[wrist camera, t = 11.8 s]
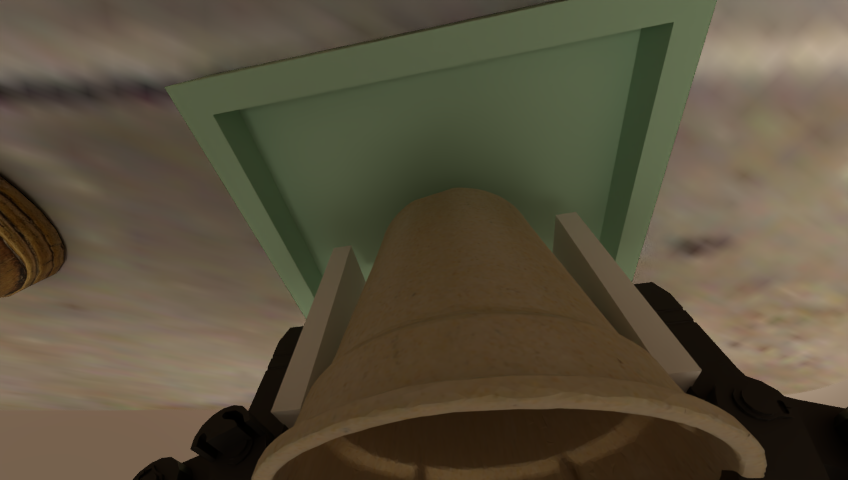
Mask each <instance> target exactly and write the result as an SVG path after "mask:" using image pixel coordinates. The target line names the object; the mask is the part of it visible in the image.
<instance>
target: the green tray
mask: <svg viewBox="0 0 848 480" xmlns="http://www.w3.org/2000/svg"><path fill="white" fill-rule="evenodd" d="M716 2H717V0H556V1H551V2H547V3H542V4H537V5H533V6H528V7H523V8H519V9H514V10H509V11H505V12H500V13H496V14H491V15H486V16H482V17H477V18H472V19H468V20H463V21H458V22H454V23H449V24H445V25H440V26H435V27H431V28H426V29H421V30H417V31H412V32H407V33H403V34H398V35H394V36H389V37H384V38H380V39H375V40H370V41H366V42H361V43H356V44H352V45H347V46H343V47H338V48H333V49H329V50H324V51H319V52H315V53H310V54H305V55H301V56H296V57H292V58H287V59H282V60H278V61H273V62H268V63H264V64H259V65H254V66H250V67H245V68H241V69H236V70H231V71H227V72H222V73H217V74H213V75H208V76H205V77H201V78H197V79H193V80H190V81H186V82H182V83H178V84H174V85H171V86H167V87H164V88H165V89H166V91H167V93H168V94H169V96H170V97H171V99H172V101H173V102H174V104H175V106H176V107H177V109H178V111H179V112H180V114H181V115H182V117H183V119H184V120H185V122H186V124H187V125H188V127H189V128H190V130H191V132H192V133H193V135H194V137H195V138H196V140H197V142H198V143H199V145H200V146H201V148H202V150H203V151H204V153H205V155H206V156H207V158H208V160H209V161H210V163H211V164H212V166H213V168H214V169H215V171H216V173H217V174H218V176H219V177H220V179H221V181H222V182H223V184H224V186H225V187H226V189H227V191H228V192H229V194H230V195H231V197H232V199H233V200H234V202H235V204H236V205H237V207H238V209H239V210H240V212H241V213H242V215H243V217H244V218H245V220H246V222H247V223H248V225H249V226H250V228H251V230H252V231H253V233H254V235H255V236H256V238H257V240H258V241H259V243H260V244H261V246H262V248H263V249H264V251H265V253H266V254H267V256H268V258H269V259H270V261H271V262H272V264H273V266H274V267H275V269H276V271H277V272H278V274H279V276H280V277H281V279H282V280H283V282H284V284H285V285H286V287H287V289H288V290H289V292H290V293H291V295H292V297H293V298H294V300H295V302H296V303H297V305H298V307H299V308H300V310H301V311H302V313H303V315H304V316H305V318H306V319H307V316H308V314H309V311H310V308H311V306H312V303H313V301H314V298H315V295H316V293H317V290H318V288H319V285H320V282H321V280H322V277H323V275H324V272H325V269H326V267H327V264H328V262H329V259H330V256H331V254H332V251H333V249H334V248H337V247H344V246H350V245H351V246H352V249H353V251H354V254H355V256H356V259H357V261H358V264H359V266H360V269H361V271H362V274H363V276H364V279H365V281H367V279H368V276H369V274H370V272H371V269H372V267H373V264H374V262H375V259H376V256H377V254H378V251H379V249H380V246H381V243H382V241H383V238H384V235H385V232H386V230H387V228H388V226H389V224H390V223H391V221H392V220H393V219H394V218H395V216H396V215H397V214H398V213H399V212H400V211H401V210H402V209H403V208H404V207H405V206H407V205H408V204H409V203H411V202H412V201H414V200H417V199H421V198H424V197H427V196H430V195H433V194H436V193H440V192H443V191H446V190H448V189H451V188H473V189H479V190H483V191H487V192H490V193H493V194H495V195H498V196H500V197H502V198H503V199H505V200H507V201H508V202H510V203H511V204H512V205H513V206H515V207H516V208H517V209H518V210H519V211H520V213H521V214H522V215H523V216H524V218H525V219H526V220H527V222H528V223H529V224H530V226H531V227H532V228H533V229H534V231H535V232H536V233H537V234H538V236H539V237H540V238H541V240H542V241H543V242H544V243H545V244H546V246H547V247H548V248H549V249H550V250H551V252H553V240H554V229H555V218H556V215H559V214H565V213H572V212H576V213H577V214H578V215H579V216H580V218H581V219H582V220H583V221H584V223H585V224H586V225H587V227H588V228H589V229H590V230H591V232H592V233H593V234H594V235H595V237H596V238H597V239H598V240H599V242H600V243H601V244H602V245H603V247H604V248H605V249H606V250H607V252H608V253H609V254H610V255H611V257H612V258H613V259H614V260H615V262H616V263H617V264H618V265H619V267H620V268H621V269H622V270H623V272H624V273H625V274H626V276H627V277H628V278H629V279H630V281H631V282H632V280H633V276H634V273H635V270H636V267H637V263H638V260H639V257H640V253H641V250H642V247H643V243H644V240H645V237H646V233H647V230H648V227H649V224H650V220H651V217H652V214H653V210H654V207H655V204H656V200H657V197H658V194H659V190H660V187H661V184H662V181H663V177H664V174H665V171H666V167H667V164H668V161H669V157H670V154H671V151H672V147H673V144H674V141H675V138H676V134H677V131H678V128H679V124H680V121H681V118H682V114H683V111H684V108H685V104H686V101H687V98H688V95H689V91H690V88H691V85H692V81H693V78H694V75H695V71H696V68H697V65H698V61H699V58H700V55H701V52H702V48H703V45H704V42H705V38H706V35H707V32H708V28H709V25H710V22H711V18H712V15H713V12H714V9H715V5H716Z"/></svg>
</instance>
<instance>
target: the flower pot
mask: <svg viewBox="0 0 848 480" xmlns="http://www.w3.org/2000/svg"><path fill="white" fill-rule="evenodd" d="M764 453H765V450H764V449H763V447H762V446H761V445H760V443H759V442H758V441H757V440H756V439H755V437H754V436H753V435H752V434H751V433H750V432H749V431H748V430H747V429H746V428H745V427H744V426H743V425H742V424H741V423H740V422H739V421H738V420H737V419H736V418H735V417H733V416H732V415H730V414H729V413H727V412H726V411H724V410H722V409H721V408H719V407H717V406H715V405H713V404H711V403H709V402H707V401H705V400H702V399H700V398H697V397H695V396H692V395H689V394H687V393H685V392H684V391H683V390H682V389H681V388H680V387H679V386H678V385H677V384H676V383H675V381H674V380H673V379H672V378H671V377H670V376H669V374H668V373H667V372H666V371H665V370H664V369H663V367H662V366H661V365H660V364H659V363H658V362H657V360H656V359H654V358H653V357H652V356H651V355H650V354H649V353H648V352H647V351H646V350H644V349H643V348H642V347H640V346H639V345H638V344H636V343H635V342H633V341H631V340H629V339H627V338H626V337H624V336H622V335H620V334H619V333H618V332H617V331H616V330H615V329H614V327H613V326H612V325H611V324H610V323H609V321H608V320H607V319H606V318H605V317H604V315H603V314H602V313H601V312H600V311H599V309H598V308H597V307H596V306H595V304H594V303H593V302H592V301H591V299H590V298H589V297H588V296H587V295H586V293H585V292H584V291H583V290H582V288H581V287H580V286H579V285H578V283H577V282H576V281H575V280H574V279H573V277H572V276H571V275H570V274H569V272H568V271H567V270H566V269H565V267H564V266H563V265H562V264H561V263H560V261H559V260H558V259H557V258H556V257H555V255H554V254H553V253H552V252H551V250H550V249H549V248H548V247H547V246H546V244H545V243H544V242H543V241H542V240H541V238H540V237H539V236H538V234H537V233H536V232H535V231H534V229H533V228H532V227H531V226H530V224H529V223H528V222H527V220H526V219H525V218H524V216H523V215H522V214H521V213H520V211H519V210H518V209H517V208H516V207H515V206H513V205H512V204H511V203H510V202H508V201H507V200H505V199H503V198H502V197H500V196H498V195H495V194H493V193H490V192H487V191H483V190H479V189H473V188H451V189H448V190H446V191H443V192H440V193H436V194H433V195H430V196H427V197H424V198H421V199H417V200H414V201H412V202H411V203H409V204H408V205H407V206H405V207H404V208H403V209H402V210H401V211H400V212H399V213H398V214H397V215H396V216H395V218H394V219H393V220H392V221H391V223H390V224H389V226H388V228H387V230H386V232H385V235H384V238H383V241H382V243H381V246H380V249H379V251H378V254H377V256H376V259H375V262H374V264H373V267H372V269H371V272H370V274H369V276H368V279H367V281H366V283H365V286H364V288H363V291H362V293H361V295H360V298H359V300H358V303H357V305H356V307H355V310H354V312H353V314H352V316H351V319H350V321H349V324H348V326H347V329H346V331H345V333H344V336H343V338H342V341H341V343H340V345H339V348H338V350H337V353H336V355H335V357H334V359H333V362H332V364H331V365H330V366H329V367H328V368H327V369H326V370H325V371H324V372H323V373H322V374H321V375H320V376H319V377H318V379H317V380H316V381H315V382H314V384H313V385H312V387H311V389H310V391H309V393H308V395H307V397H306V399H305V402H304V404H303V406H302V409H301V411H300V413H299V415H298V417H297V420H296V422H295V424H294V426H293V427H292V428H290V429H288V430H287V431H285V432H284V433H283V434H281V435H280V436H279V437H277V438H276V439H275V440H274V441H273V442H272V443H271V444H270V445H269V446H268V447H267V448H266V449H265V450H264V452H263V454H262V455H261V457H260V458H259V460H258V462H257V465H256V467H255V470H254V472H253V475H252V477H251V478H252V479H251V480H719V479H720V477H721V471H722V470H733V471H735V472H738V474H739V475H741V476H743V477H746V478H763V477H764V476H765V475H764V473H765V472H766V467H767V462H766V458H765V454H764Z"/></svg>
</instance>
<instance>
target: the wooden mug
mask: <svg viewBox="0 0 848 480" xmlns="http://www.w3.org/2000/svg"><path fill="white" fill-rule="evenodd" d="M63 262H64V247H63V244H62V242H61V240H60V238H59V235H58V233H57V231H56V229H55V228H54V227H53V226H52V224H51V223H50V222H49V221H48V219H47V218H46V217H45V216H44V214H43V213H42V212H41V211H40V210H39V209H38V208H37V207H36V206H35V205H33V204H32V203H31V202H30V201H29V200H28V199H27V198H26V197H25V196H24V195H23V194H22V193H21V192H19V191H18V190H17V189H16V188H14V187H13V186H12V185H11V184H9V183H8V182H7V181H5V180H4V179H3V178H2V177H0V298H1V297H8V296H11V295H13V294H15V293H17V292H19V291H21V290H23V289H25V288H27V287H29V286H31V285H33V284H35V283H37V282H39V281H41V280H43V279H45V278H47V277H49V276H51V275H53V274H55V273H57V271H58V270H59V268H60V267H61V265H62V264H63Z"/></svg>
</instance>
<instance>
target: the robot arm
mask: <svg viewBox="0 0 848 480" xmlns="http://www.w3.org/2000/svg"><path fill="white" fill-rule="evenodd" d="M552 253H553V254H554V255H555V257H556V258H557V259H558V260H559V261H560V263H561V264H562V265H563V266H564V267H565V269H566V270H567V271H568V272H569V274H570V275H571V276H572V277H573V279H574V280H575V281H576V282H577V283H578V285H579V286H580V287H581V288H582V290H583V291H584V292H585V293H586V295H587V296H588V297H589V298H590V299H591V301H592V302H593V303H594V304H595V306H596V307H597V308H598V309H599V311H600V312H601V313H602V314H603V315H604V317H605V318H606V319H607V320H608V321H609V323H610V324H611V325H612V326H613V327H614V329H615V330H616V331H617V332H618V333H619V334H620V335H622V336H624V337H626V338H627V339H629V340H631V341H633V342H635V343H636V344H638V345H639V346H640V347H642V348H643V349H644V350H646V351H647V352H648V353H649V354H650V355H651V356H652V357H653V358H654V359H656V360H657V362H658V363H659V364H660V365H661V366H662V367H663V369H664V370H665V371H666V372H667V373H668V374H669V376H670V377H671V378H672V379H673V380H674V381H675V383H676V384H677V385H678V386H679V387H680V388H681V389H682V390H683V391H684V392H685V393H687V394H689V395H692V396H695V397H697V398H700V399H702V400H705V401H707V402H709V403H711V404H713V405H715V406H717V407H719V408H721V409H722V410H724V411H726V412H727V413H729V414H730V415H732V416H733V417H735V418H736V419H737V420H738V421H739V422H740V423H741V424H742V425H743V426H744V427H745V428H746V429H747V430H748V431H749V432H750V433H751V434H752V435H753V436H754V437H755V439H756V440H757V441H758V442H759V443H760V445H761V446H762V447H763V449H764V450H765V453H764V454H765V458H766V462H767V467H766V472H765V473H764V475H765V476H764V477H763V478H746V477H743V476H741V475H739V474H738V472H735V471H733V470H722V471H721V477H720V479H719V480H848V407H847V408H846V409H845V408H840V407H834V406H829V405H823V404H818V403H813V402H808V401H802V400H797V399H793V398H789V397H785V396H783V395H782V394H781V393H780V392H779V391H778V390H776V389H774V388H772V387H771V386H769V385H767V384H765V383H763V382H762V381H759V380H756V379H753V378H750V377H747V376H745V375H744V374H743V373H742V372H741V371H740V370H739V369H738V368H737V367H736V366H735V365H734V364H733V363H732V362H731V360H730V359H729V358H728V357H727V356H726V355H725V354H724V353H723V352H722V351H721V349H720V348H719V347H718V346H717V345H716V344H715V343H714V342H713V341H712V339H711V338H710V337H709V336H708V335H707V334H706V333H705V332H704V331H703V329H702V328H701V327H700V326H699V325H698V324H697V323H696V322H694V321H693V318H692V317H691V316H690V315H689V314H688V313H687V312H686V311H685V310H683V307H682V306H681V305H680V304H679V303H678V302H677V301H676V300H675V298H674V297H673V296H672V295H671V294H670V293H669V292H667V291H665V290H664V289H662V288H661V287H659V286H657V285H656V284H654V283H653V282H649V283H641V284H633V283H632V282H631V281H630V279H629V278H628V277H627V276H626V274H625V273H624V272H623V270H622V269H621V268H620V267H619V265H618V264H617V263H616V262H615V260H614V259H613V258H612V257H611V255H610V254H609V253H608V252H607V250H606V249H605V248H604V247H603V245H602V244H601V243H600V242H599V240H598V239H597V238H596V237H595V235H594V234H593V233H592V232H591V230H590V229H589V228H588V227H587V225H586V224H585V223H584V221H583V220H582V219H581V218H580V216H579V215H578V214H577V213H576V212H572V213H565V214H559V215H556V218H555V229H554V240H553V252H552ZM365 283H366V281H365V279H364V276H363V274H362V271H361V269H360V266H359V264H358V261H357V259H356V256H355V254H354V251H353V249H352V246H351V245H350V246H344V247H337V248H334V249H333V251H332V254H331V256H330V259H329V262H328V264H327V267H326V269H325V272H324V275H323V277H322V280H321V282H320V285H319V288H318V290H317V293H316V295H315V298H314V301H313V303H312V306H311V308H310V311H309V314H308V316H307V319H306V321H305V324H304V326H301V327H293V328H290V329H289V330H288V331H287V332H286V334H285V335H284V336H283V337H282V338H281V340H280V341H279V343H278V345H277V347H276V350H275V352H274V354H273V358H272V359H271V361H270V363H269V365H268V370H267V371H266V372H265V374H264V377H263V379H262V381H261V384H260V386H259V388H258V390H257V393H256V395H255V397H254V399H253V402H252V404H251V406H250V408H249V411H247V410H246V409H245V408H244V407H243V406H237V405H233V406H230V407H227V408H224V409H222V410H220V411H219V412H217V413H216V414H214V415H213V416H212V417H211V418H210V419H209V420H208V421H207V422H205V424H204V425H202V427H201V428H200V430H199V432H198V433H197V434H196V436H195V438H194V440H193V443H192V446H191V450H192V451H194V452H196V453H197V454H199V456H197V457H195V458H192V459H190V460H188V461H185V462H183V463H180V462H179V461H177V460H175V459H174V458H172V457H167V458H161V459H159V460H157V461H155V462H152V463H151V464H149V465H148V466H147V467H145V468H144V469H143V470H142V471H140V472H139V473H138V474H137V475H136V476H135V478H134V479H133V480H251V479H252V478H251V477H252V475H253V472H254V470H255V467H256V465H257V462H258V460H259V458H260V457H261V455H262V454H263V452H264V450H265V449H266V448H267V447H268V446H269V445H270V444H271V443H272V442H273V441H274V440H275V439H276V438H277V437H279V436H280V435H281V434H283V433H284V432H285V431H287V430H288V429H290V428H292V427H293V426H294V424H295V422H296V420H297V417H298V415H299V413H300V411H301V409H302V406H303V404H304V402H305V399H306V397H307V395H308V393H309V391H310V389H311V387H312V385H313V384H314V382H315V381H316V380H317V379H318V377H319V376H320V375H321V374H322V373H323V372H324V371H325V370H326V369H327V368H328V367H329V366H330V365H331V364H332V362H333V359H334V357H335V355H336V353H337V350H338V348H339V345H340V343H341V341H342V338H343V336H344V333H345V331H346V329H347V326H348V324H349V321H350V319H351V316H352V314H353V312H354V310H355V307H356V305H357V303H358V300H359V298H360V295H361V293H362V291H363V288H364V286H365Z"/></svg>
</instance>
